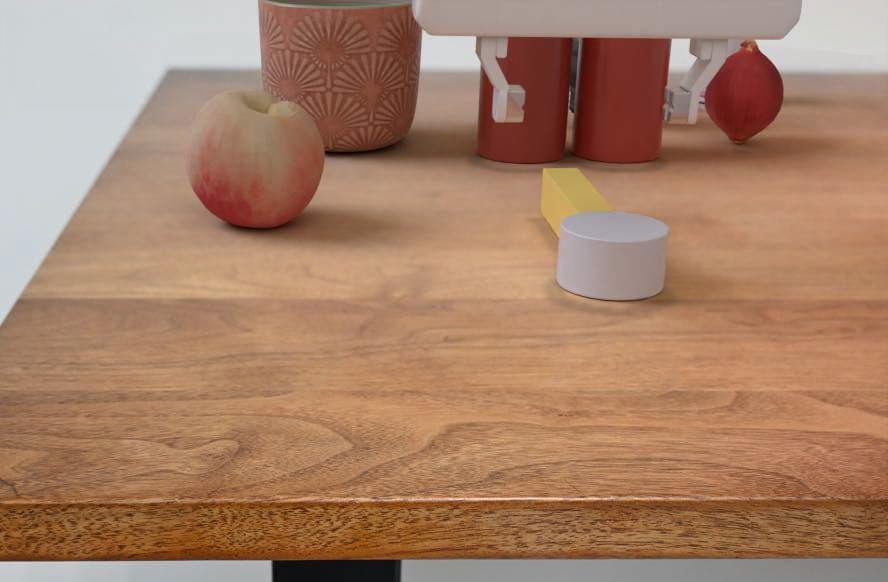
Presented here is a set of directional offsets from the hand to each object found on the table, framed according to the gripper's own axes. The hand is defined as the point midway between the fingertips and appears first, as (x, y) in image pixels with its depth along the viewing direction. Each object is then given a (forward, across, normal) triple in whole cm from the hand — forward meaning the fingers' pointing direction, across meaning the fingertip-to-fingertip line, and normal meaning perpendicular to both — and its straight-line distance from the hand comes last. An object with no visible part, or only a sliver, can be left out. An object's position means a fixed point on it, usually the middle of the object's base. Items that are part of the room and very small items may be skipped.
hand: (593, 121), depth 68 cm
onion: (+8, -18, -28) cm, 34 cm away
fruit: (+8, +19, -7) cm, 21 cm away
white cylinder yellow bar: (+8, 0, -1) cm, 8 cm away
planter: (+8, +13, -29) cm, 33 cm away
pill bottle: (+8, -22, -45) cm, 51 cm away
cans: (+8, -4, -25) cm, 26 cm away
